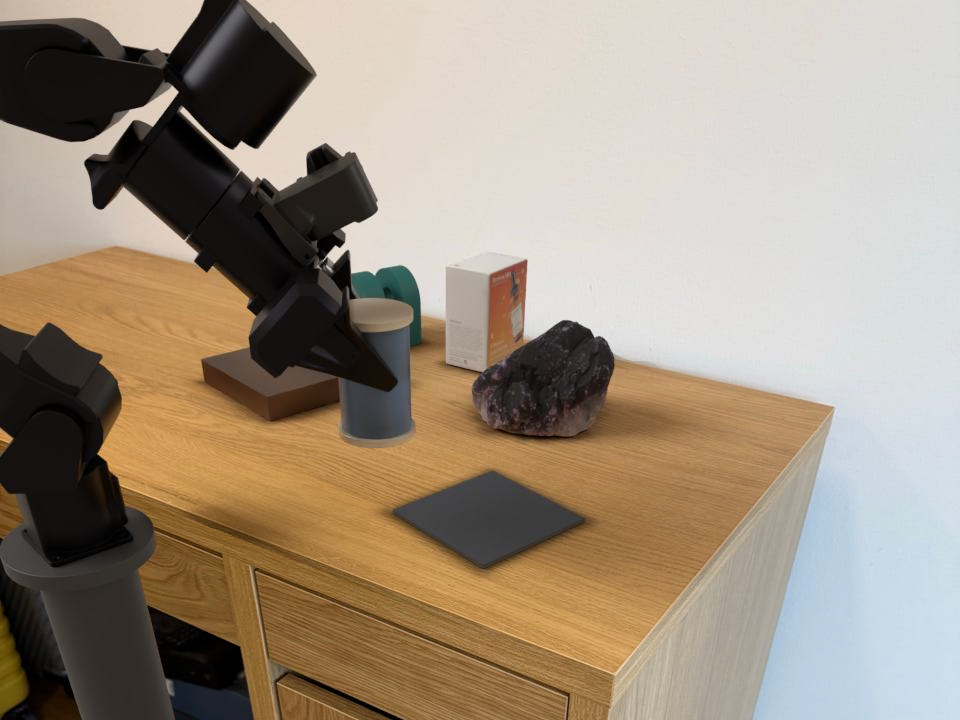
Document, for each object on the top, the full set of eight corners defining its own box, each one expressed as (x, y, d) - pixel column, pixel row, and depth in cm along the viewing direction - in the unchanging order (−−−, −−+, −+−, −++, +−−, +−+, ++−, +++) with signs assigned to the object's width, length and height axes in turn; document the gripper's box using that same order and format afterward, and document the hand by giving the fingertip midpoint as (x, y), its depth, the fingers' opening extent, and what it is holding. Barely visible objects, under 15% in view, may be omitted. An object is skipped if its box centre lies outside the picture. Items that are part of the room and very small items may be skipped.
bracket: (421, 343, 106) (420, 272, 102) (371, 354, 103) (367, 282, 98) (344, 303, 118) (339, 239, 113) (297, 312, 115) (290, 246, 110)
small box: (486, 375, 99) (489, 274, 92) (444, 364, 101) (443, 265, 95) (524, 354, 104) (529, 257, 98) (483, 344, 106) (485, 249, 100)
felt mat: (483, 569, 67) (483, 564, 67) (392, 513, 74) (392, 509, 74) (584, 521, 73) (585, 517, 73) (492, 474, 80) (492, 470, 80)
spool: (323, 440, 67) (312, 316, 62) (361, 411, 71) (354, 293, 66) (394, 454, 65) (390, 328, 60) (428, 424, 70) (426, 304, 64)
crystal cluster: (447, 411, 92) (444, 316, 86) (552, 374, 98) (557, 281, 91) (527, 470, 84) (530, 370, 77) (636, 426, 90) (648, 329, 83)
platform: (270, 421, 88) (266, 396, 86) (204, 382, 96) (200, 358, 94) (393, 384, 96) (392, 361, 95) (324, 351, 104) (322, 329, 102)
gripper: (284, 127, 48) (487, 335, 55) (302, 86, 63) (461, 255, 70) (158, 284, 52) (364, 458, 59) (203, 210, 67) (364, 357, 74)
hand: (393, 372), depth 66 cm, fingers closed on spool, 5 cm apart
